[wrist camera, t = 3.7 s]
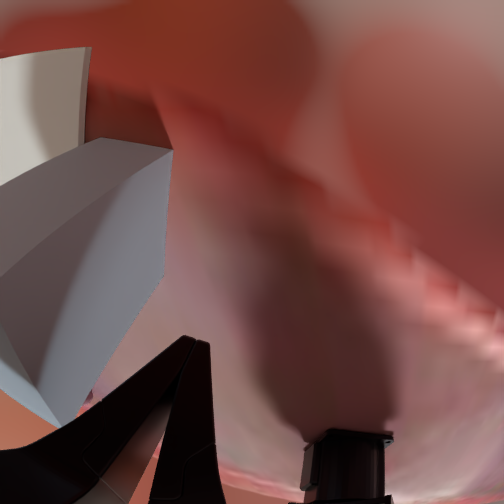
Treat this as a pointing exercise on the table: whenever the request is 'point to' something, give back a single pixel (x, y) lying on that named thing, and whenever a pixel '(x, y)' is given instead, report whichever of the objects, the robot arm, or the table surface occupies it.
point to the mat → (41, 107)
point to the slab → (77, 267)
